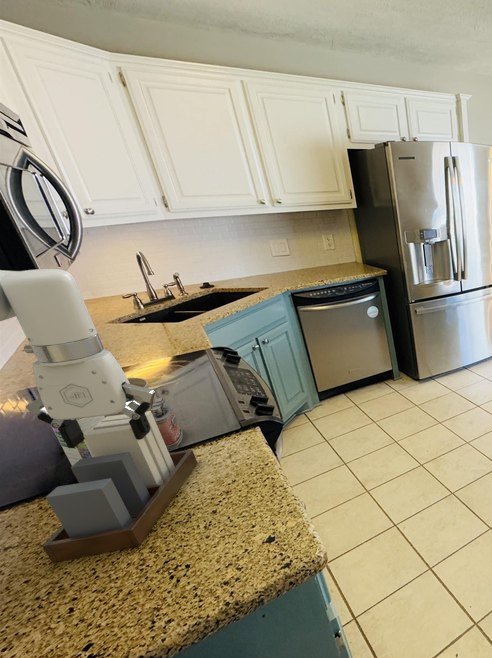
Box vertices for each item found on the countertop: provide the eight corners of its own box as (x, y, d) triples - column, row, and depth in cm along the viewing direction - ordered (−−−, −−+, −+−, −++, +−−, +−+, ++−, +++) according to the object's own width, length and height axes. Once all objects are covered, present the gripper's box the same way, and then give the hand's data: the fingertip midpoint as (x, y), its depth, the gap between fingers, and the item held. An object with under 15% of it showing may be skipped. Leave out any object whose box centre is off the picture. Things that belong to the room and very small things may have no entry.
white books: (126, 494, 78) (92, 427, 72) (137, 481, 81) (106, 416, 75) (168, 487, 80) (139, 421, 74) (178, 474, 83) (151, 410, 77)
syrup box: (76, 477, 83) (42, 415, 77) (108, 460, 88) (79, 401, 82) (97, 481, 82) (64, 419, 76) (128, 463, 87) (100, 404, 81)
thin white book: (118, 504, 76) (83, 435, 69) (124, 497, 77) (89, 430, 71) (162, 496, 77) (131, 429, 71) (167, 490, 79) (137, 423, 73)
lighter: (179, 446, 93) (163, 408, 89) (161, 451, 91) (143, 412, 87) (184, 430, 99) (170, 393, 95) (167, 434, 97) (151, 397, 93)
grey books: (77, 551, 66) (41, 492, 61) (109, 513, 73) (80, 459, 68) (129, 541, 67) (98, 483, 62) (155, 505, 75) (129, 451, 70)
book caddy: (52, 563, 64) (41, 546, 62) (133, 473, 84) (126, 459, 82) (140, 545, 66) (131, 529, 65) (197, 463, 87) (192, 449, 85)
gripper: (-21, 363, 60) (33, 460, 66) (121, 351, 64) (158, 443, 71) (20, 346, 66) (65, 435, 73) (146, 337, 70) (178, 422, 77)
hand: (111, 439), depth 72 cm, fingers open, 9 cm apart
